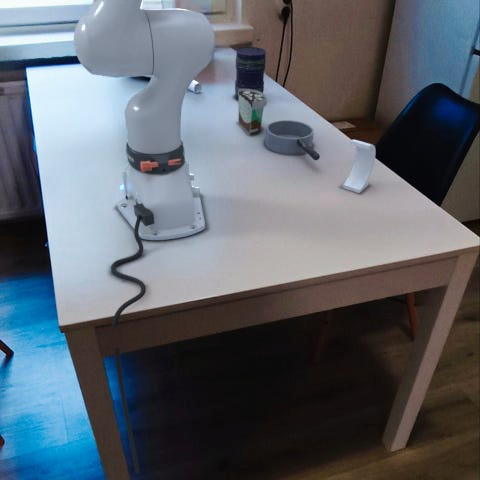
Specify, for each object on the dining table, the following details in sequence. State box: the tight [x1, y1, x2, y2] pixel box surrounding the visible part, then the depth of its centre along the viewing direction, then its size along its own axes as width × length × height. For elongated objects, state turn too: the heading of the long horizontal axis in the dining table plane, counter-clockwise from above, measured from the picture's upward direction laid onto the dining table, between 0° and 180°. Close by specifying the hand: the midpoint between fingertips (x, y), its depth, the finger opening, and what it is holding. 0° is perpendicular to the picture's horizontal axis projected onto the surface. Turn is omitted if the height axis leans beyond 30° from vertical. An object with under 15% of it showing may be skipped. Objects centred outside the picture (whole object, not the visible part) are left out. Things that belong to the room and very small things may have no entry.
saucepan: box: [264, 119, 315, 156], centre depth 138 cm, size 13×13×4 cm
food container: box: [237, 89, 267, 136], centre depth 144 cm, size 12×6×10 cm, turn 21°
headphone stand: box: [341, 139, 376, 194], centre depth 118 cm, size 5×6×12 cm
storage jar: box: [234, 38, 267, 101], centre depth 162 cm, size 10×10×18 cm
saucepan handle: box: [297, 138, 321, 161], centre depth 129 cm, size 12×2×2 cm, turn 20°
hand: (205, 51), depth 125 cm, fingers closed
